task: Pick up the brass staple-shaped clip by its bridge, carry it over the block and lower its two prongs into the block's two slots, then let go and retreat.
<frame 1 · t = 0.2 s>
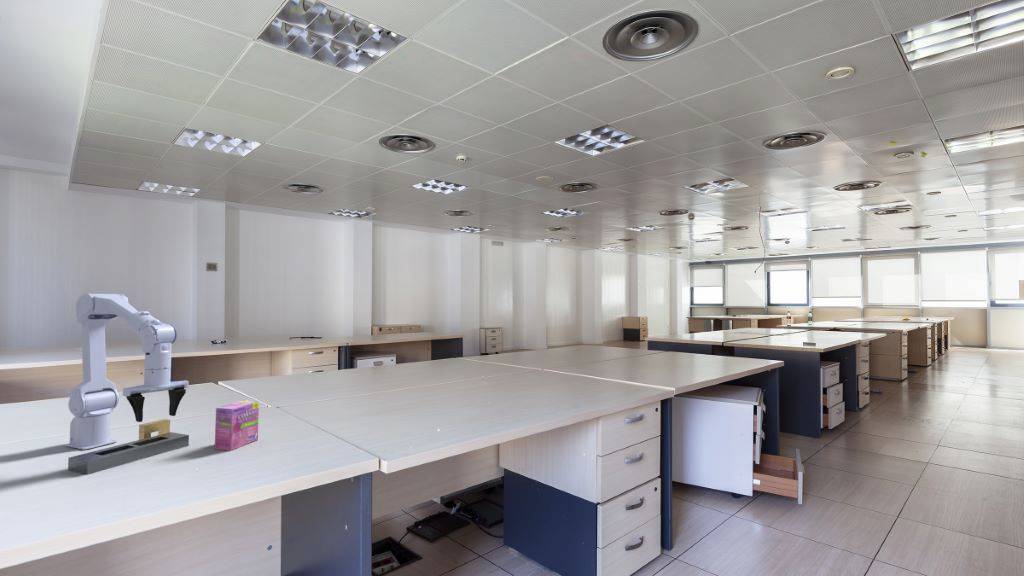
hand: (156, 418, 125), 10 cm above the table, fingers open, 7 cm apart
clip: (154, 442, 135), on the table
box: (237, 445, 134), on the table
block: (133, 456, 123), on the table
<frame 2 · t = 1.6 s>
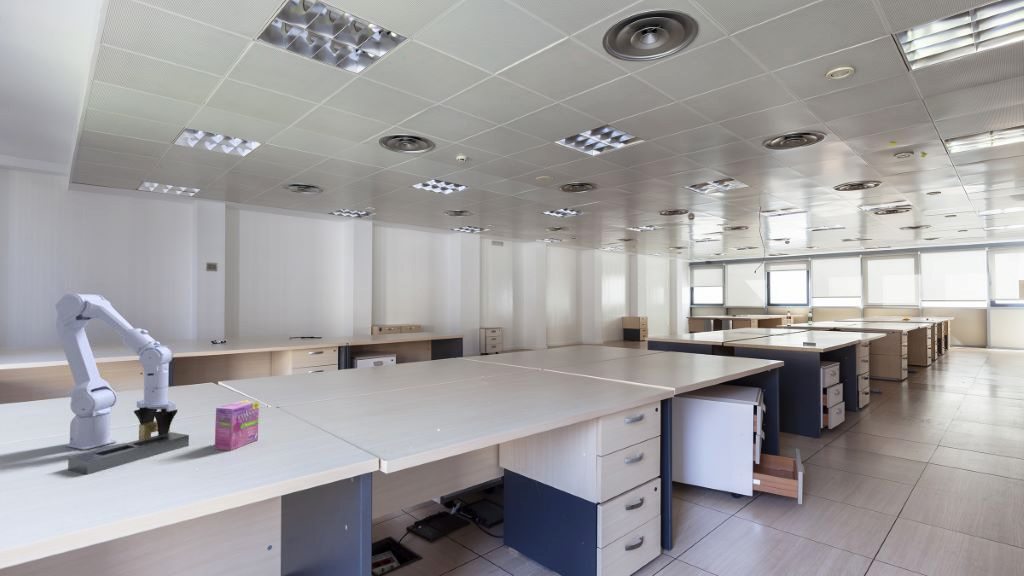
hand: (155, 433, 135), 3 cm above the table, fingers open, 7 cm apart
nothing on the table moved.
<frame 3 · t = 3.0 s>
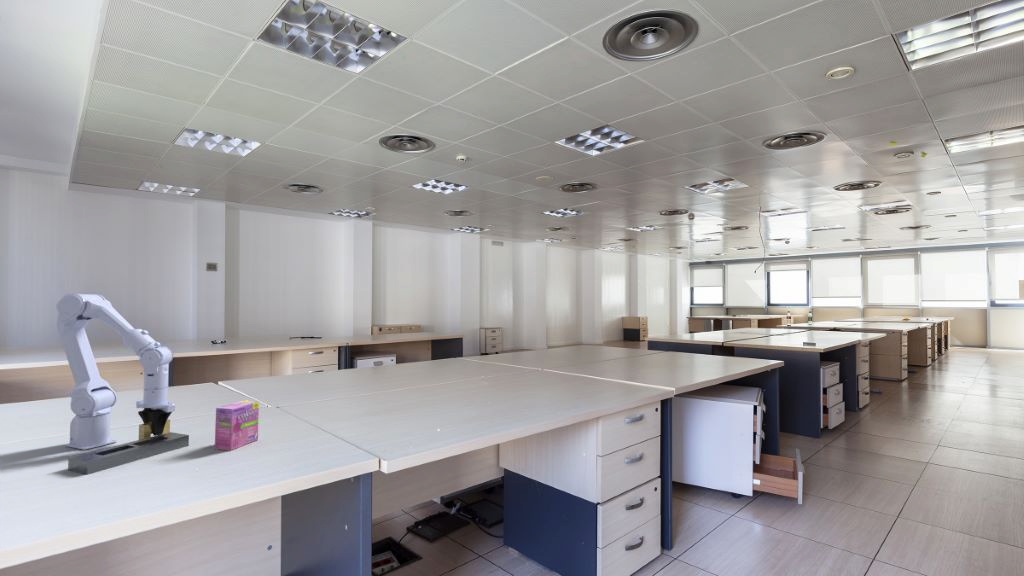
hand: (154, 434, 135), 2 cm above the table, fingers closed on clip, 2 cm apart
clip: (154, 442, 135), on the table, touching gripper
everything else where it was.
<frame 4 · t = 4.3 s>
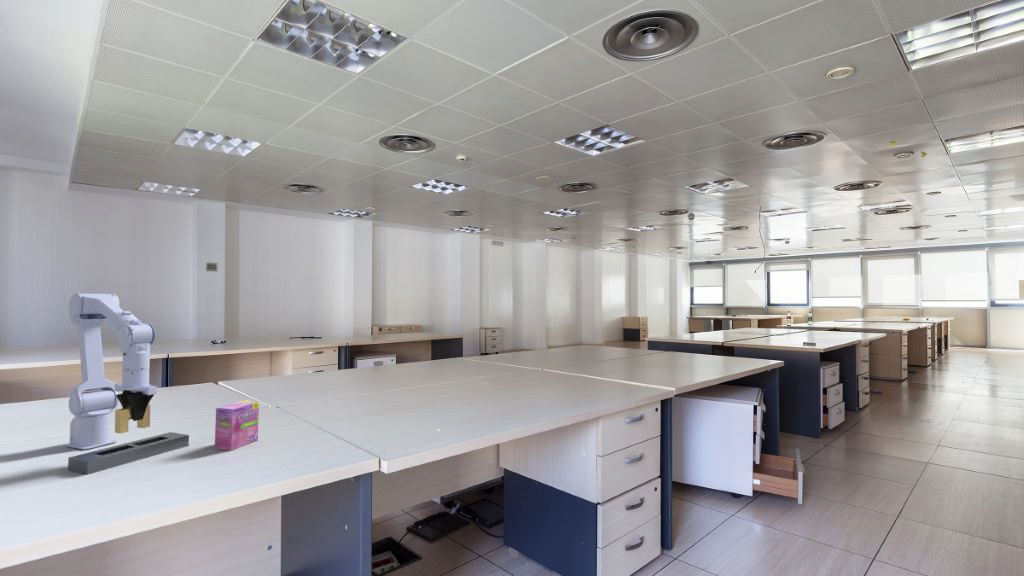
hand: (134, 419, 123), 10 cm above the table, fingers closed on clip, 2 cm apart
clip: (132, 429, 123), point 7 cm above the table, touching gripper
everything else where it was.
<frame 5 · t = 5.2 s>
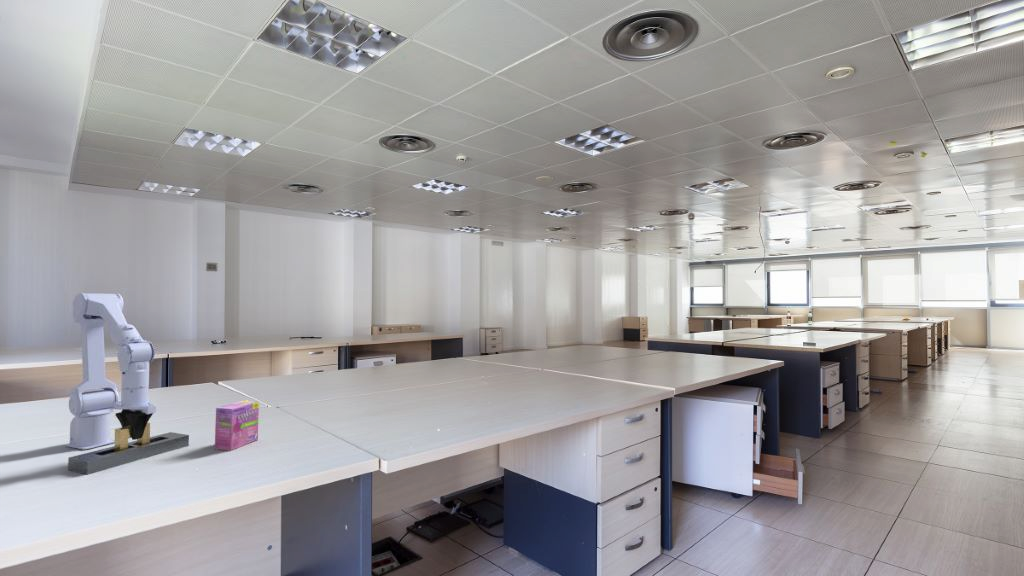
hand: (133, 438, 123), 5 cm above the table, fingers closed on clip, 2 cm apart
clip: (132, 448, 123), point 2 cm above the table, touching gripper
everything else where it was.
when the fingers open (4 cm above the table, at t = 6.0 s): clip drops 1 cm, resting on block.
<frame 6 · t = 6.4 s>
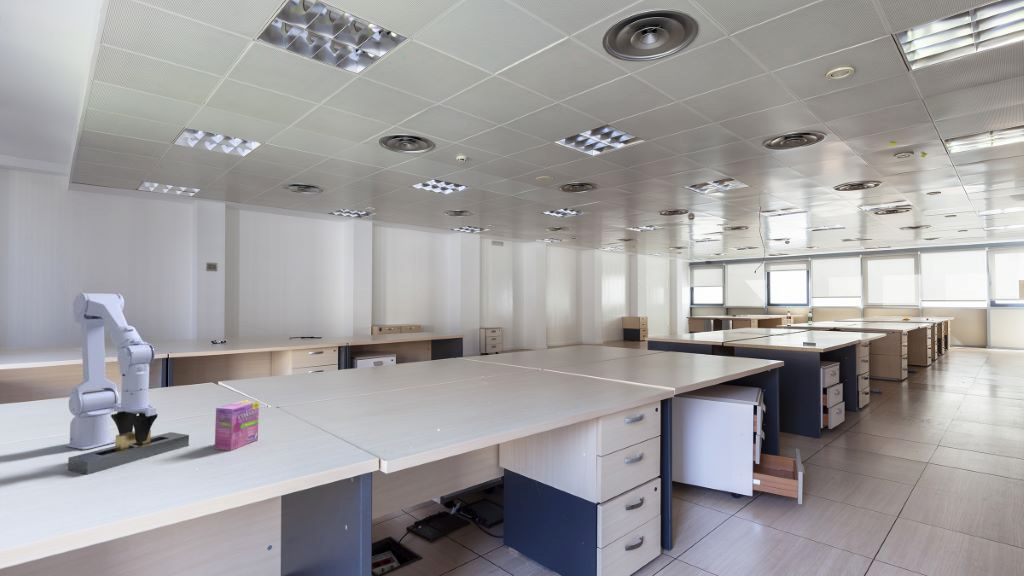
hand: (133, 440, 123), 4 cm above the table, fingers open, 6 cm apart
clip: (132, 454, 123), resting on block
everything else where it was.
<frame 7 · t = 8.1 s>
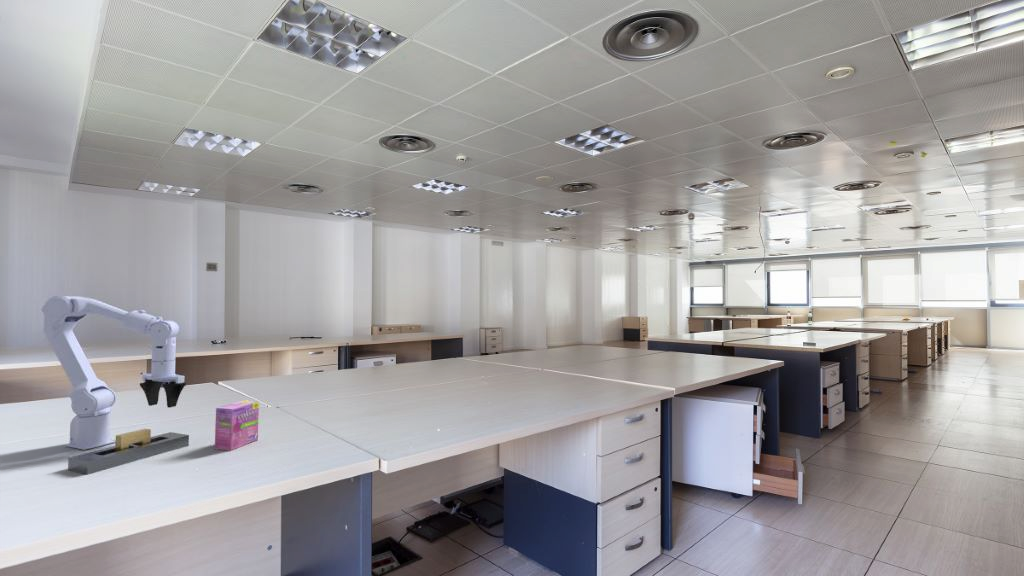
hand: (162, 405, 137), 10 cm above the table, fingers open, 7 cm apart
nothing on the table moved.
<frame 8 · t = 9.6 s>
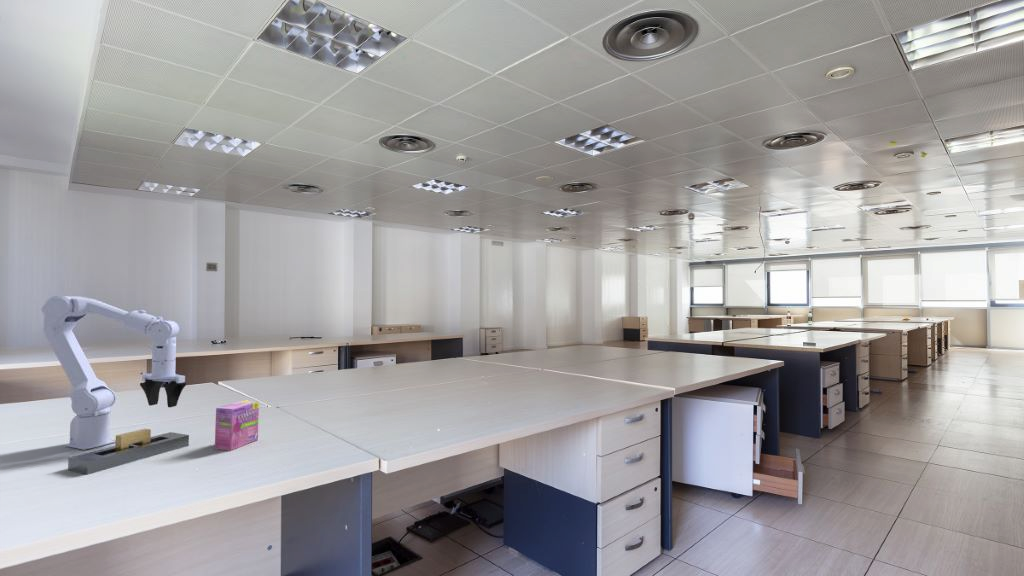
hand: (162, 405, 137), 10 cm above the table, fingers open, 7 cm apart
nothing on the table moved.
at the end: clip 0.0 cm off-centre on the block, point 0.5 cm above the block's base; clip tilted 0°; the gripper is holding nothing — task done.
